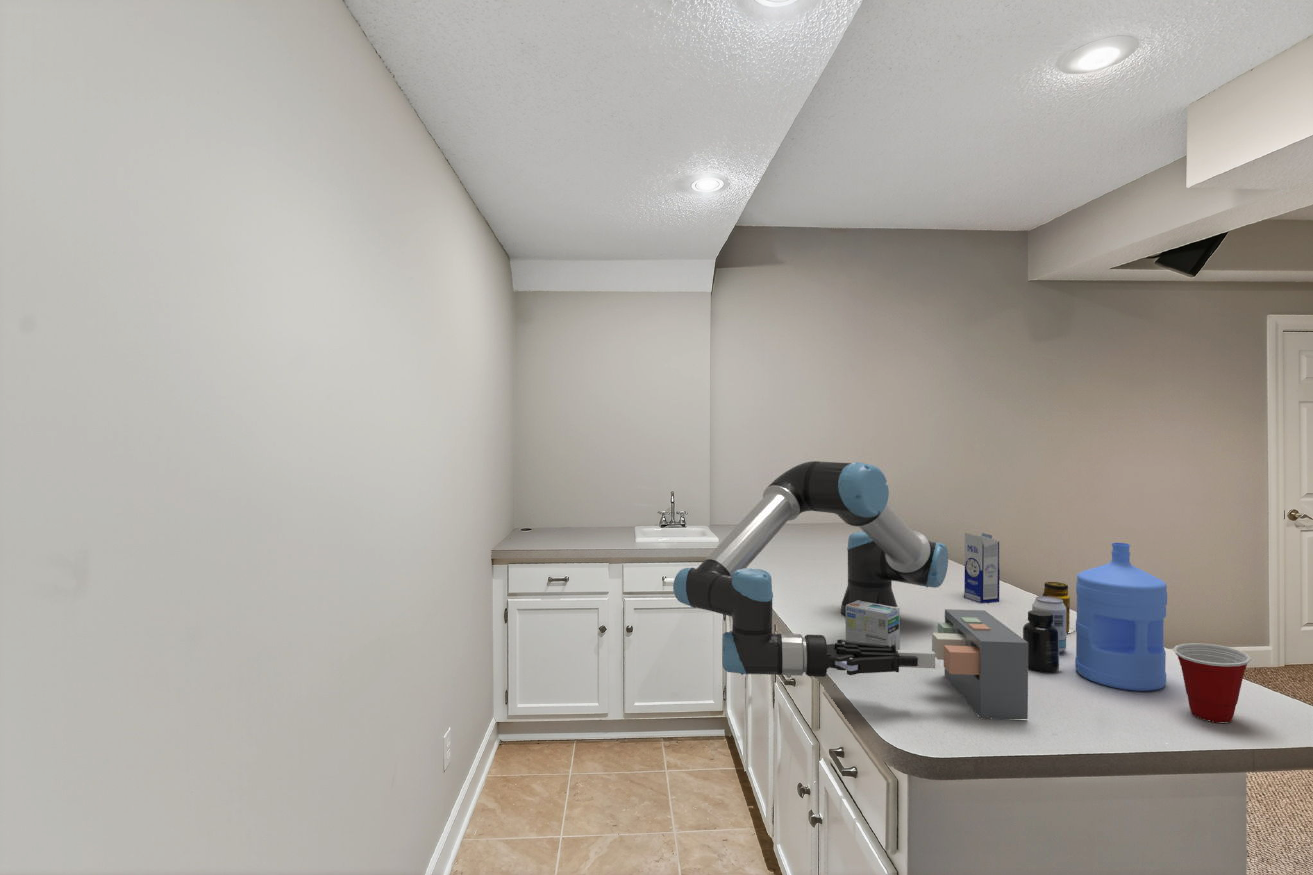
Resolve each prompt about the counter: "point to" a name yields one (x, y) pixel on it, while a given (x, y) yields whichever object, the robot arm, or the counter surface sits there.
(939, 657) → the ivory key
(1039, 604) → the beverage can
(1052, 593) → the condiment
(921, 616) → the counter surface
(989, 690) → the key console
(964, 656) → the terracotta key
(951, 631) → the sage key
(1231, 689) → the plastic cup
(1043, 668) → the supplement bottle
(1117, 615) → the water jug
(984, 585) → the milk carton
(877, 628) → the light bulb box
